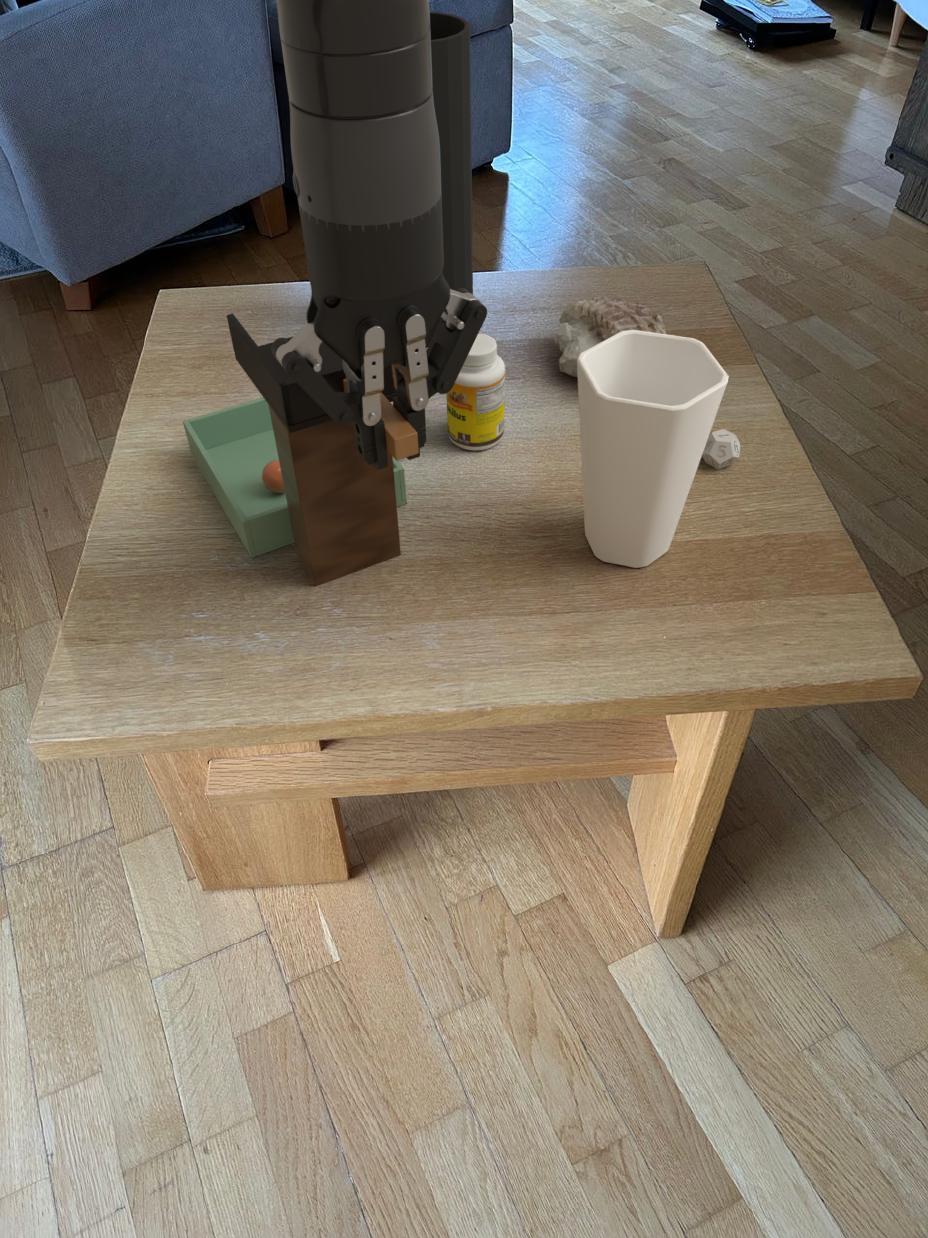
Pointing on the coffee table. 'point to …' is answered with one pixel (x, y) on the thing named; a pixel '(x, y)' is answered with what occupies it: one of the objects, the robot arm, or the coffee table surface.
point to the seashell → (599, 326)
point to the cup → (642, 438)
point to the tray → (249, 472)
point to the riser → (336, 500)
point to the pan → (298, 405)
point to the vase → (454, 144)
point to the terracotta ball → (273, 477)
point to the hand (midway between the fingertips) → (393, 456)
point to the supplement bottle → (478, 398)
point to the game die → (721, 449)
